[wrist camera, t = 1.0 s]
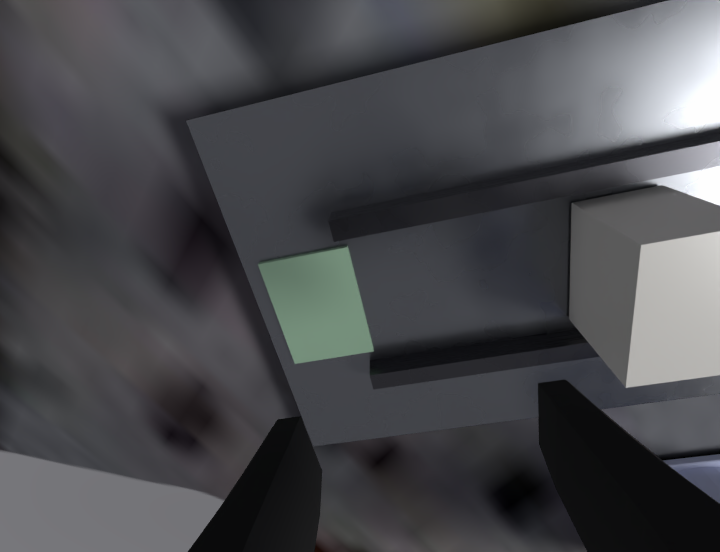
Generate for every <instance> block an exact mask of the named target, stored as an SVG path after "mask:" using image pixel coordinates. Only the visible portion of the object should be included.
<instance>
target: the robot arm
mask: <svg viewBox="0 0 720 552" xmlns="http://www.w3.org/2000/svg"><path fill="white" fill-rule="evenodd" d="M538 414H539V445H540V448H541V450H542V453H543V456H544V458H545V461H546V464H547V466H548V469H549V472H550V474H551V477H552V479H553V482H554V485H555V487H556V490H557V492H558V494H559V496H560V498H561V500H562V502H563V504H564V506H565V508H566V510H567V512H568V514H569V516H570V518H571V520H572V522H573V524H574V526H575V528H576V530H577V532H578V534H579V536H580V538H581V540H582V542H583V544H584V546H585V548H586V550H587V552H720V454H716V455H707V456H698V457H689V458H680V459H671V460H661V459H660V458H659V457H657V456H656V455H655V454H654V453H652V452H651V451H650V450H649V449H647V448H646V447H645V446H644V445H642V444H641V443H640V442H639V441H637V440H636V439H635V438H634V437H632V436H631V435H630V434H629V433H628V432H626V431H625V430H624V429H623V428H622V427H620V426H619V425H618V424H617V423H616V422H614V421H613V420H612V419H611V418H610V417H609V416H607V415H606V414H605V413H604V412H603V411H602V410H600V409H599V408H598V407H597V406H596V405H595V404H594V403H592V402H591V401H590V400H589V399H588V398H587V397H586V396H584V395H583V394H582V393H581V392H580V391H579V390H578V389H577V388H575V387H574V386H573V385H572V384H571V383H570V382H568V381H567V380H565V379H564V380H557V381H550V382H542V383H538ZM321 481H322V469H321V467H320V464H319V462H318V459H317V456H316V454H315V451H314V449H313V446H312V444H311V441H310V439H309V436H308V434H307V431H306V428H305V426H304V423H303V421H302V418H301V416H300V417H292V418H285V419H278V420H277V421H276V423H275V424H274V426H273V427H272V429H271V430H270V432H269V433H268V435H267V437H266V438H265V440H264V441H263V443H262V444H261V446H260V448H259V449H258V451H257V452H256V454H255V455H254V457H253V459H252V460H251V462H250V463H249V465H248V466H247V468H246V469H245V471H244V473H243V474H242V476H241V477H240V479H239V480H238V482H237V483H236V485H235V486H234V487H233V489H232V490H231V492H230V493H229V495H228V496H227V498H226V499H225V501H224V502H223V504H222V505H221V507H220V508H219V510H218V511H217V512H216V514H215V515H214V517H213V518H212V519H211V521H210V522H209V523H208V525H207V526H206V528H205V529H204V530H203V532H202V533H201V535H200V536H199V537H198V539H197V540H196V541H195V543H194V544H193V545H192V547H191V548H190V549H189V551H188V552H314V550H315V543H316V537H317V530H318V524H319V517H320V503H321Z"/></svg>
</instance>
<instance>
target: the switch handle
mask: <svg viewBox="0 0 720 552" xmlns="http://www.w3.org/2000/svg"><path fill="white" fill-rule="evenodd" d="M569 320H570V321H571V322H572V323H573V324H574V326H575V327H576V328H577V329H578V331H579V332H580V333H581V334H582V335H583V337H584V338H585V339H586V340H587V341H588V343H589V344H590V345H591V346H592V348H593V349H594V350H595V351H596V352H597V354H598V355H599V356H600V357H601V358H602V360H603V361H604V362H605V363H606V365H607V366H608V367H609V368H610V369H611V371H612V372H613V373H614V374H615V375H616V377H617V378H618V379H619V380H620V382H621V383H622V384H623V385H624V386H625V388H628V387H636V386H643V385H651V384H658V383H665V382H673V381H680V380H688V379H695V378H702V377H710V376H717V375H720V206H719V205H716V204H714V203H711V202H708V201H705V200H702V199H700V198H697V197H694V196H691V195H688V194H686V193H683V192H680V191H677V190H674V189H672V188H669V187H666V186H663V185H660V186H655V187H650V188H645V189H640V190H634V191H629V192H624V193H619V194H614V195H609V196H604V197H598V198H593V199H588V200H583V201H578V202H573V203H572V206H571V252H570V298H569Z"/></svg>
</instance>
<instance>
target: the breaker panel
mask: <svg viewBox="0 0 720 552" xmlns="http://www.w3.org/2000/svg"><path fill="white" fill-rule="evenodd" d="M186 122H187V125H188V127H189V130H190V133H191V135H192V138H193V140H194V143H195V145H196V148H197V150H198V153H199V156H200V158H201V161H202V163H203V166H204V168H205V171H206V173H207V176H208V179H209V181H210V184H211V186H212V189H213V191H214V194H215V196H216V199H217V202H218V204H219V207H220V209H221V212H222V214H223V217H224V219H225V222H226V225H227V227H228V230H229V232H230V235H231V237H232V240H233V242H234V245H235V248H236V250H237V253H238V255H239V258H240V260H241V263H242V265H243V268H244V271H245V273H246V276H247V278H248V281H249V283H250V286H251V288H252V291H253V294H254V296H255V299H256V301H257V304H258V306H259V309H260V311H261V314H262V317H263V319H264V322H265V324H266V327H267V329H268V332H269V334H270V337H271V340H272V342H273V345H274V347H275V350H276V352H277V355H278V357H279V360H280V363H281V365H282V368H283V370H284V373H285V375H286V378H287V380H288V383H289V386H290V388H291V391H292V393H293V396H294V398H295V401H296V403H297V406H298V409H299V411H300V414H301V416H302V419H303V421H304V424H305V426H306V429H307V432H308V434H309V437H310V439H311V442H312V444H313V446H320V445H328V444H336V443H343V442H351V441H359V440H367V439H374V438H382V437H390V436H398V435H405V434H413V433H421V432H428V431H436V430H444V429H452V428H459V427H467V426H475V425H483V424H490V423H498V422H506V421H514V420H521V419H529V418H537V417H539V414H538V383H542V382H550V381H557V380H564V379H565V380H567V381H568V382H570V383H571V384H572V385H573V386H574V387H575V388H577V389H578V390H579V391H580V392H581V393H582V394H583V395H584V396H586V397H587V398H588V399H589V400H590V401H591V402H592V403H594V404H595V405H596V406H597V407H598V408H599V409H606V408H614V407H622V406H630V405H637V404H645V403H653V402H660V401H668V400H676V399H684V398H691V397H699V396H707V395H715V394H720V375H717V376H710V377H702V378H695V379H688V380H680V381H673V382H665V383H658V384H651V385H643V386H636V387H628V388H625V386H624V385H623V384H622V383H621V382H620V380H619V379H618V378H617V377H616V375H615V374H614V373H613V372H612V371H611V369H610V368H609V367H608V366H607V365H606V363H605V362H604V361H603V360H602V358H601V357H600V356H599V355H598V354H597V352H596V351H595V350H594V349H593V348H592V346H591V345H590V344H589V343H588V341H587V340H586V339H585V338H584V337H583V335H582V334H581V333H580V332H579V331H578V329H577V328H576V327H575V326H574V324H573V323H572V322H571V321H570V320H569V298H570V252H571V206H572V203H573V202H578V201H583V200H588V199H593V198H598V197H604V196H609V195H614V194H619V193H624V192H629V191H634V190H640V189H645V188H650V187H655V186H660V185H663V186H666V187H669V188H672V189H674V190H677V191H680V192H683V193H686V194H688V195H691V196H694V197H697V198H700V199H702V200H705V201H708V202H711V203H714V204H716V205H719V206H720V0H668V1H664V2H660V3H656V4H652V5H648V6H644V7H640V8H636V9H632V10H628V11H624V12H620V13H616V14H612V15H608V16H604V17H600V18H596V19H592V20H588V21H584V22H580V23H576V24H572V25H568V26H564V27H560V28H556V29H552V30H548V31H544V32H540V33H536V34H532V35H528V36H524V37H520V38H516V39H512V40H508V41H504V42H500V43H496V44H492V45H488V46H484V47H480V48H476V49H472V50H468V51H464V52H460V53H456V54H452V55H448V56H444V57H440V58H436V59H431V60H427V61H423V62H419V63H415V64H411V65H407V66H403V67H399V68H395V69H391V70H387V71H383V72H379V73H375V74H371V75H367V76H363V77H359V78H355V79H351V80H347V81H343V82H339V83H335V84H331V85H327V86H323V87H319V88H315V89H311V90H307V91H303V92H299V93H295V94H291V95H287V96H283V97H279V98H275V99H271V100H267V101H263V102H259V103H255V104H251V105H247V106H243V107H239V108H235V109H231V110H227V111H223V112H219V113H215V114H211V115H207V116H203V117H199V118H195V119H191V120H187V121H186Z"/></svg>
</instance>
